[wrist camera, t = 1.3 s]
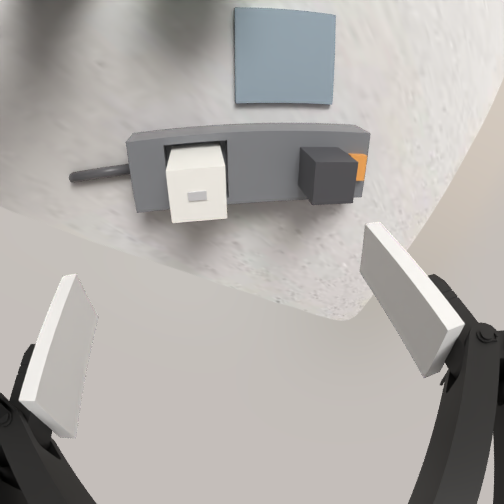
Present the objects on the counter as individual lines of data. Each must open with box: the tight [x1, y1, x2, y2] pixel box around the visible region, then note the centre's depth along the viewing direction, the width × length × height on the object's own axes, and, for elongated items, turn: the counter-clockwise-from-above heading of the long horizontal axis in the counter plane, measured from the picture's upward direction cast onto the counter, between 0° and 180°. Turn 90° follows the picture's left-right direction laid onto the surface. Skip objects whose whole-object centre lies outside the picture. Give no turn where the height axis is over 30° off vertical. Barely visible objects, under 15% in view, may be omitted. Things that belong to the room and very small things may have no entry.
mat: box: [235, 8, 336, 104], centre depth 30 cm, size 11×11×1 cm
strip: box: [69, 123, 370, 213], centre depth 32 cm, size 35×8×9 cm, turn 90°
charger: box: [166, 142, 227, 223], centre depth 31 cm, size 5×5×8 cm
